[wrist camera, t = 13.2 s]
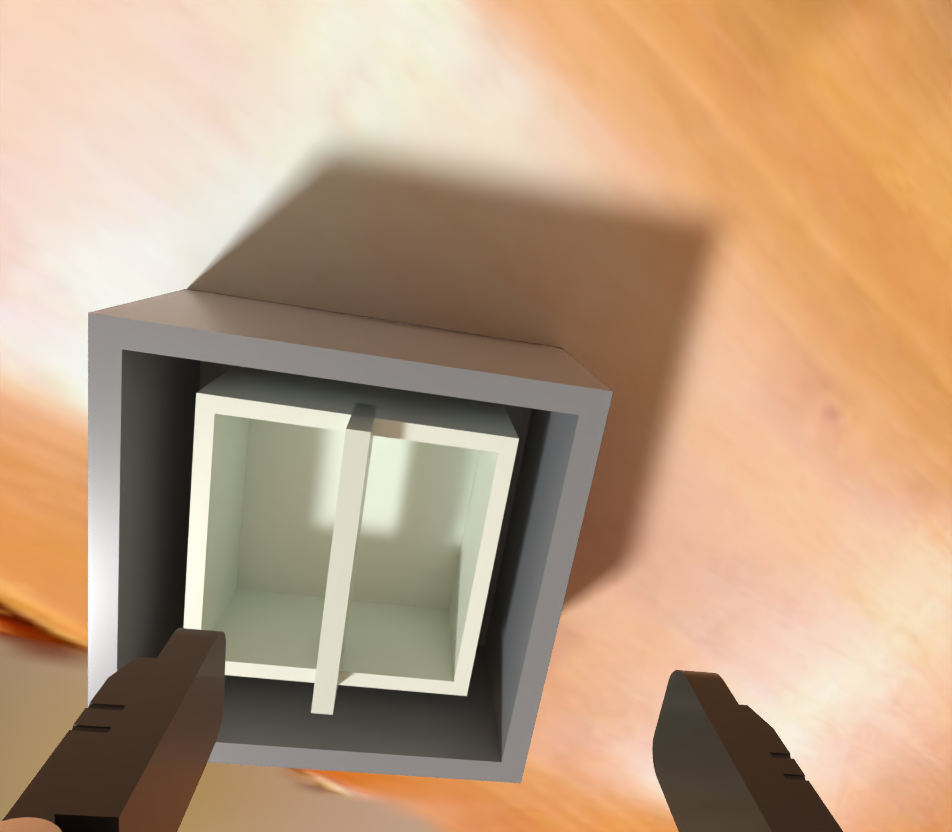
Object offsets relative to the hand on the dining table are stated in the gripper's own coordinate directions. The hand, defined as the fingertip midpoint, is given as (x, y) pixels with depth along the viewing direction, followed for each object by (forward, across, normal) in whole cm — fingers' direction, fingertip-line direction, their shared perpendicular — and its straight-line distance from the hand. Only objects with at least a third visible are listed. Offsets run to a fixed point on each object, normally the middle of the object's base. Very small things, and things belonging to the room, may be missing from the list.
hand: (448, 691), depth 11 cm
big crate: (+25, +4, +7) cm, 26 cm away
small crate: (+24, +4, +7) cm, 25 cm away
